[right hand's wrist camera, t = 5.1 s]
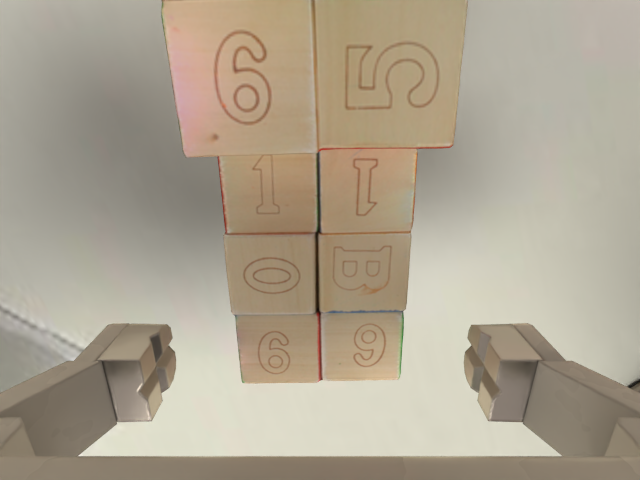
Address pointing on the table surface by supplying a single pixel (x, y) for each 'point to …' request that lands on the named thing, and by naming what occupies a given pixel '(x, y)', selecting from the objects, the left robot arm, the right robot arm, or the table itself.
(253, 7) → the stack of blocks
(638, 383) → the left robot arm
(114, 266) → the table surface
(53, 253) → the table surface
